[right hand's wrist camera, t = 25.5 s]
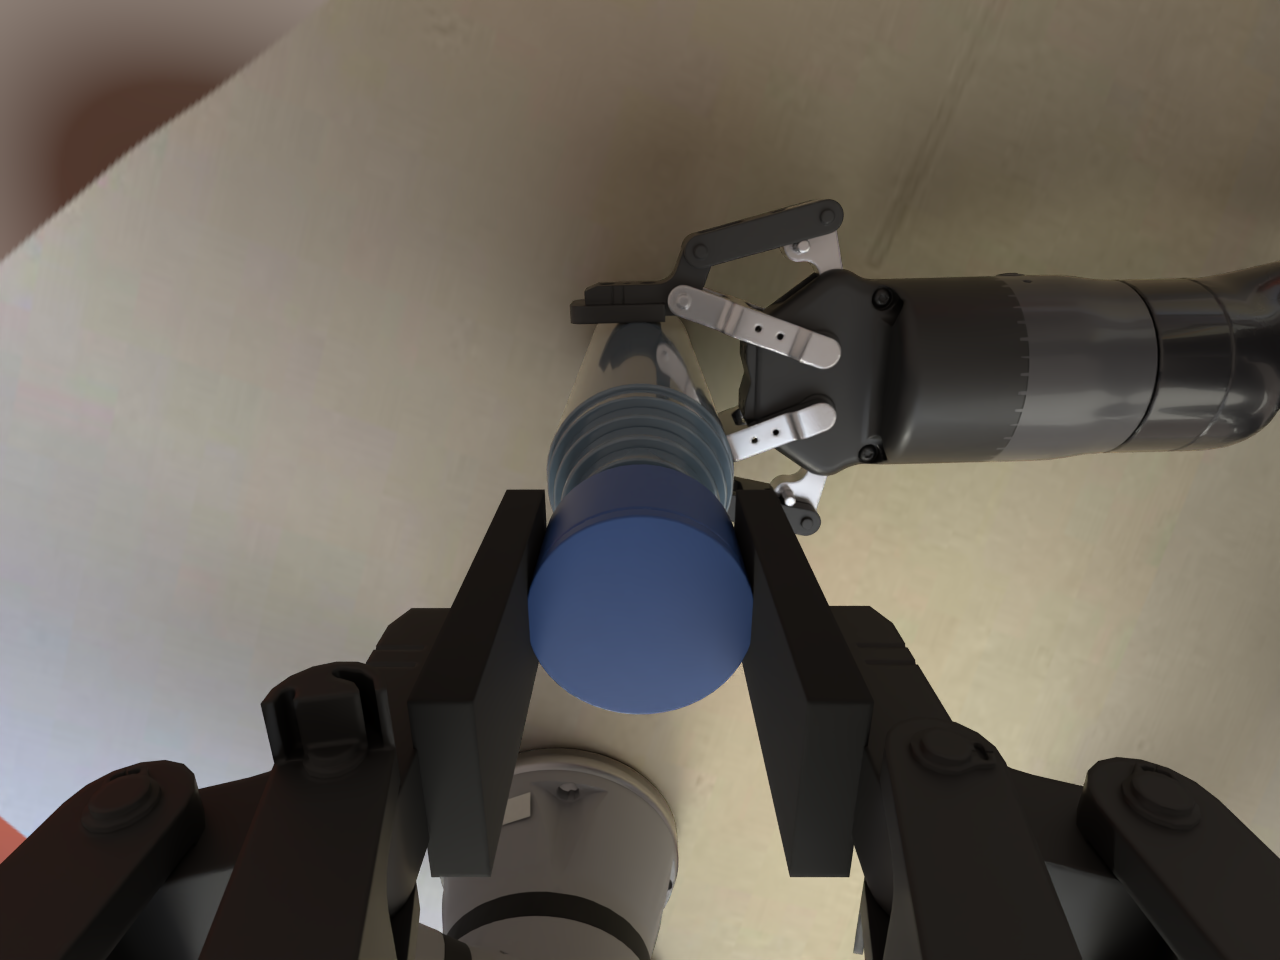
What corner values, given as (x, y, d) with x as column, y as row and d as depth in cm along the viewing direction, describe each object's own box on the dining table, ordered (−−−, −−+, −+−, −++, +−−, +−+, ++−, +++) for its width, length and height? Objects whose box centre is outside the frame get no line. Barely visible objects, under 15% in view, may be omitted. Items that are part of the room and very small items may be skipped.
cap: (750, 618, 15) (770, 695, 13) (569, 650, 15) (556, 731, 13) (720, 445, 14) (736, 494, 11) (522, 483, 14) (497, 539, 12)
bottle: (696, 388, 36) (791, 689, 14) (602, 405, 37) (539, 728, 14) (680, 290, 35) (759, 446, 12) (581, 309, 35) (471, 497, 12)
